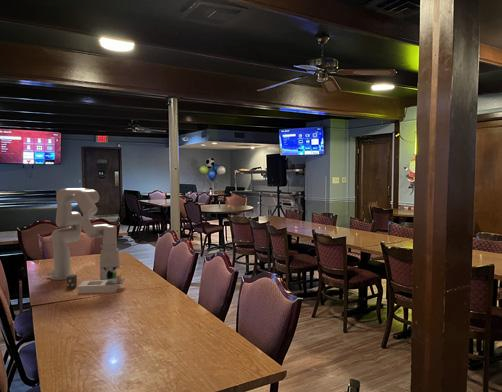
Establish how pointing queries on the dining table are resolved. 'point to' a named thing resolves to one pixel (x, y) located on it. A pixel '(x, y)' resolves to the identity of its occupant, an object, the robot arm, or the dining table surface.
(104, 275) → the skincare box
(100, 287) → the socket block
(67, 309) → the dining table surface
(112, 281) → the shutter
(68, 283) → the plug
